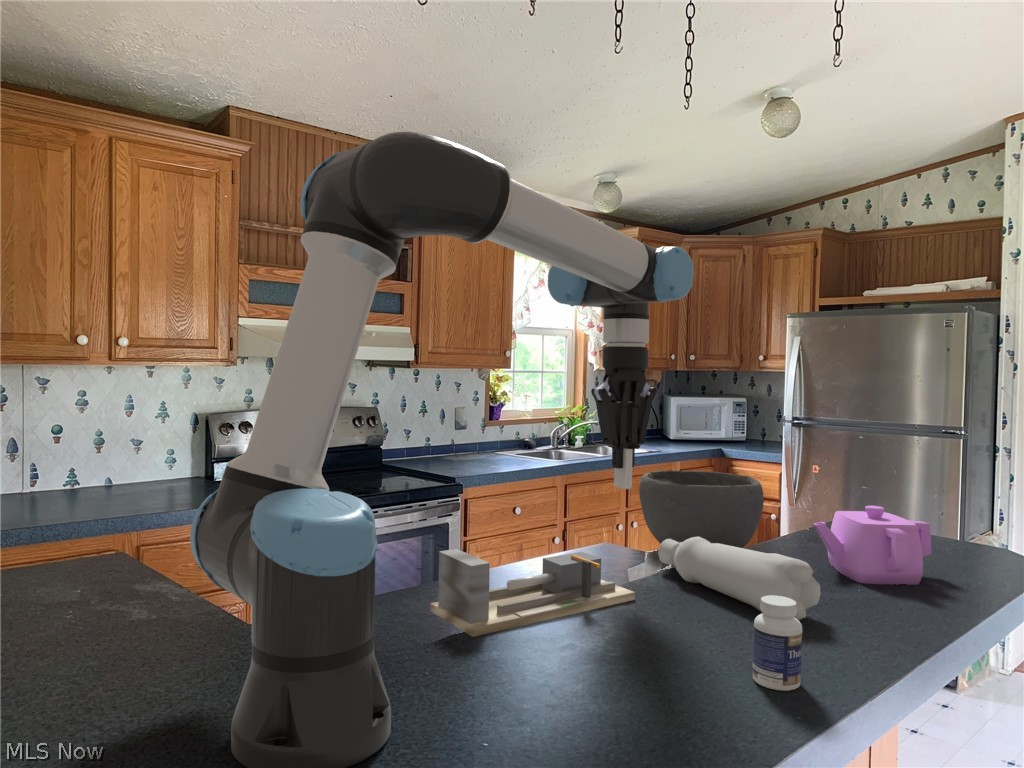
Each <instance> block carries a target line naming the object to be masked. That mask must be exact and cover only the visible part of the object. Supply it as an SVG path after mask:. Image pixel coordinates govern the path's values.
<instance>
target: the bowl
mask: <svg viewBox="0 0 1024 768" xmlns="http://www.w3.org/2000/svg"><path fill="white" fill-rule="evenodd" d="M640 477H641V478H640V480H639V482H638V485H639V486H638V495H639V501H640V506H641V512H642V514H643V515H642V516H643V518H644V520H645V523H646V527H647V528H648V530H649V531H650V533H651V535H652V536H653V537H654V539H655V540H656V541H657V542H658V543H659V544H661V543H662V542H663V541H664V540H666V539H672V540H674V541H677V542H683V541H685V540H687V539H689V538H692V537H701V538H703V539H706V540H707V541H709V542H710V543H719V544H724V545H729V546H734V547H739V548H743V549H744V547H746V545H748V544H749V542H750V541H751V540H752V539H753V537H754V536H755V533H756V531H757V530H758V527H759V526H760V525H759V524H760V521H761V518H762V514H763V510H764V503H765V502H764V491H763V490H764V489H763V486H762V484H761V482H760V481H759V480H758V479H755V478H753V477H751V476H750V475H744V474H743V475H742V474H734V473H727V472H717V471H707V470H705V471H704V470H661V469H660V470H655V471H649V472H646V473H644V474H642V476H640Z"/></svg>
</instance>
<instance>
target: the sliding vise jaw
mask: <svg viewBox="0 0 1024 768" xmlns="http://www.w3.org/2000/svg"><path fill="white" fill-rule="evenodd" d="M585 560H587V561H590V562H591V586H592V585H597V584H601V580H602V558H601V557H598V556H595V555H592V554H590V553H587V552H585V551H579V552H574V553H573V552H572V553H566V554H561V555H555V556H554V555H553V556H548V557H543V558H542V572H541V573H540V574H536V575H530V576H524V577H520V578H514V579H507V581H506V587H507V588H508V589H509V590H512V589H518V588H523V587H528V586H533V585H538V584H542V589H545V590H547V591H549V592H552V593H558V592H563V591H568V590H573V589H578V588H582V561H585Z"/></svg>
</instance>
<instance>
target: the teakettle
mask: <svg viewBox="0 0 1024 768" xmlns="http://www.w3.org/2000/svg"><path fill="white" fill-rule="evenodd" d="M864 508H865V511H862V510H861V511H860V510H837V511H835V512H834V516H833V519H832V523H831V527H830V528H829V526H828V525H827V523H826V522H824V521H819V522H818V521H817V522H813V523H812V524H813V527H814V529H815V531H816V532H817V534H818V536H819V538H820V539H821V541H822V543H823V544H824V546H825V548H826V549H827V556H828V562H829V564H831V565H830V566H831V567H832V566H833V567H834V568H835V569H836V570H837V571H836V570H835V569H834V568H833V567H832V568H833V569H834V570H835V571H836V572H838V571H839V572H840V573H839V572H838V573H839V574H841V573H842V574H843V576H844V575H845V576H844V577H846V576H847V577H846V578H848V577H849V578H848V579H850V580H852V581H854V582H856V583H859V584H865V585H894V584H896V585H898V586H899V584H907V585H906V586H908V585H909V586H911V585H913V586H916V585H917V586H918V585H920V582H921V580H922V578H923V575H924V574H923V573H924V559H923V558H925V557H926V556H929V555H930V554H931V555H932V553H933V552H932V536H931V523H929V522H926V521H923V520H911V519H910V520H909V519H907V518H904V517H901V516H898V515H895V514H893V513H889V512H886V511H885V510H886V509H885V507H882V506H878V505H865V506H864ZM842 574H841V575H842ZM894 586H895V585H894Z"/></svg>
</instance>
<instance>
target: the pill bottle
mask: <svg viewBox="0 0 1024 768" xmlns="http://www.w3.org/2000/svg"><path fill="white" fill-rule="evenodd" d="M760 609H761V611H760V612H761V613H760V614H758V615H757V616H756V617H755V618H754V621H753V647H752V650H753V651H752V652H753V653H752V678H753V680H754V682H755V683H757V685H760V686H762V687H765V688H767V689H771V690H775V691H782V692H783V691H784V692H788V691H793V690H796V689H797V688H799V687H800V686H801V680H802V679H801V678H802V677H801V676H802V654H803V652H802V651H803V647H802V646H803V624H802V623H801V622H800V620H797V619H796V618H794V616H796V613H797V603H796V602H795V601H794V600H792V599H790V598H787V597H783V596H775V595H769V596H764V597H762V598H761V605H760Z"/></svg>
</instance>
